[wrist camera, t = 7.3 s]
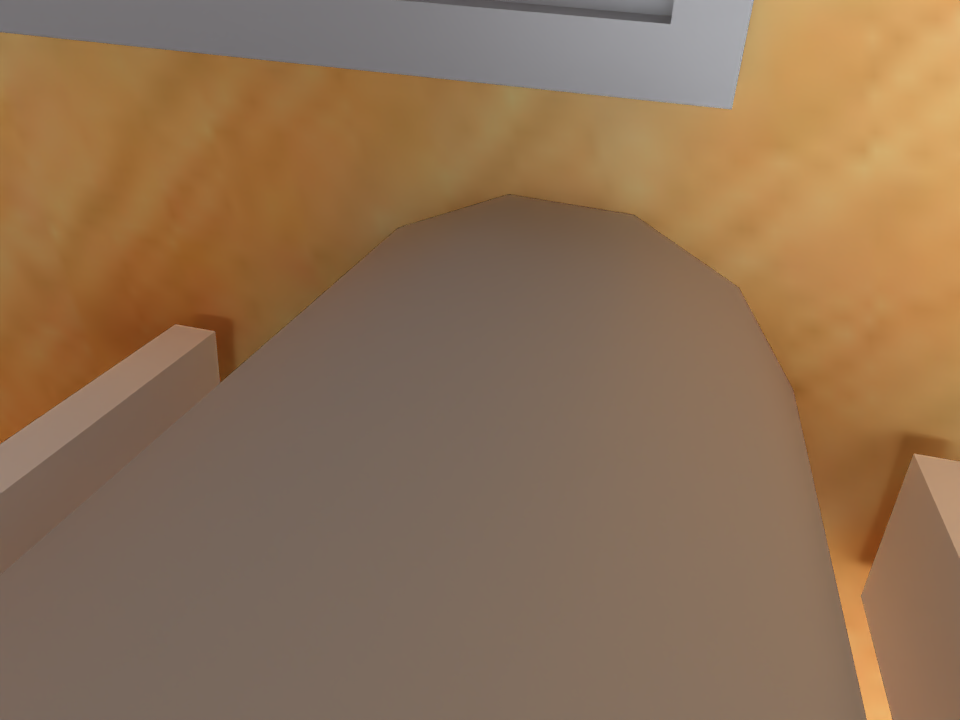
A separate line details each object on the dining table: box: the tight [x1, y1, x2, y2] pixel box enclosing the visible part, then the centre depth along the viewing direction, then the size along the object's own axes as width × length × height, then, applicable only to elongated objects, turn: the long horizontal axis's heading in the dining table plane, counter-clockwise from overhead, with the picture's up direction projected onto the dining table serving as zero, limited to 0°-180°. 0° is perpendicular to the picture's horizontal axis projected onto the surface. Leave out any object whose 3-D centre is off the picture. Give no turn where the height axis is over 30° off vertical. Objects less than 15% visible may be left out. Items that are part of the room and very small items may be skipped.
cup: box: [0, 194, 867, 720], centre depth 9 cm, size 8×8×10 cm
